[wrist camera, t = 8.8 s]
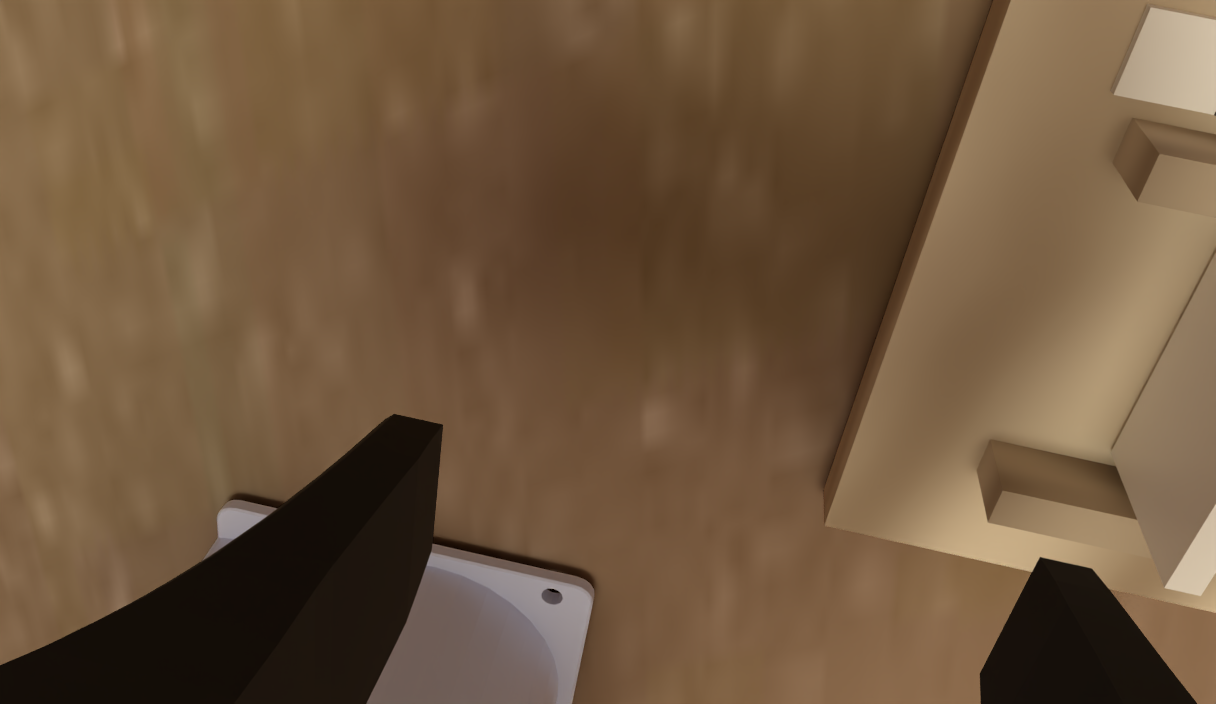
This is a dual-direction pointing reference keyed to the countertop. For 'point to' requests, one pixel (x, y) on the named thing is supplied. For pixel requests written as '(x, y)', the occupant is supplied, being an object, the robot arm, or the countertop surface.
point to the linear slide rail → (1041, 292)
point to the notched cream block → (1178, 450)
